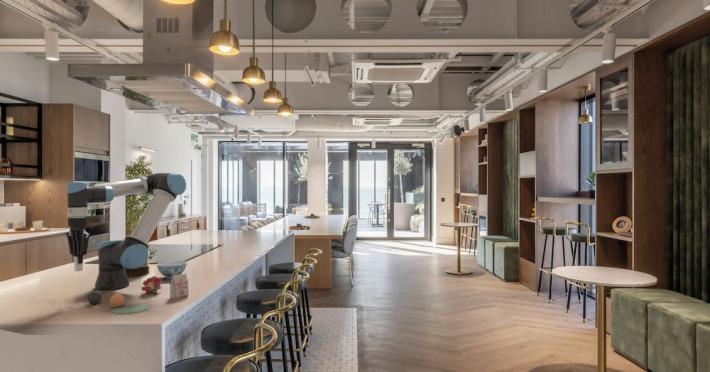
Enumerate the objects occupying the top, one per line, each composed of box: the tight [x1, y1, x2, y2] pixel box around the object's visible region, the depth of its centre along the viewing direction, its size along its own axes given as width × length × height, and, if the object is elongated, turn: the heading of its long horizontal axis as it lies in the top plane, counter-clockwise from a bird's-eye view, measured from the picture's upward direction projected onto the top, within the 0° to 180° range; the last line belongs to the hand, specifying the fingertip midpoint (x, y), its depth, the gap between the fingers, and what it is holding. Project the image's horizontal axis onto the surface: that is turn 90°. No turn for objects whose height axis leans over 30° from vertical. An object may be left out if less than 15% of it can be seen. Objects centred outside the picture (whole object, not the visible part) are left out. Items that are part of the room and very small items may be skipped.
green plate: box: [111, 303, 151, 315], centre depth 189 cm, size 14×14×1 cm
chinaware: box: [156, 260, 188, 280], centre depth 249 cm, size 15×15×8 cm
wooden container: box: [125, 241, 150, 278], centre depth 259 cm, size 15×15×22 cm
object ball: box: [109, 293, 126, 308], centre depth 192 cm, size 6×6×6 cm
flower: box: [141, 275, 163, 294], centre depth 215 cm, size 10×9×8 cm
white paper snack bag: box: [169, 273, 189, 300], centre depth 208 cm, size 4×7×10 cm, turn 142°
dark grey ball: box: [86, 290, 103, 305], centre depth 198 cm, size 6×6×6 cm
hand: (78, 270), depth 201 cm, fingers closed
